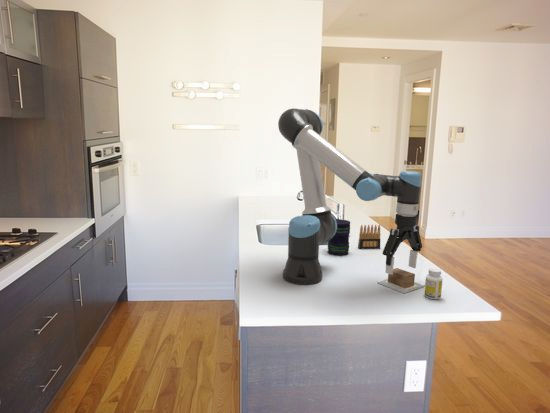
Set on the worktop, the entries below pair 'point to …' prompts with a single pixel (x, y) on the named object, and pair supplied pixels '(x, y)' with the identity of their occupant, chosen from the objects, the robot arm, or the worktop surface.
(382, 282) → the mat
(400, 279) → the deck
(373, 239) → the ammunition clip
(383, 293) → the worktop surface
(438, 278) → the supplement bottle
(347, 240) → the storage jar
